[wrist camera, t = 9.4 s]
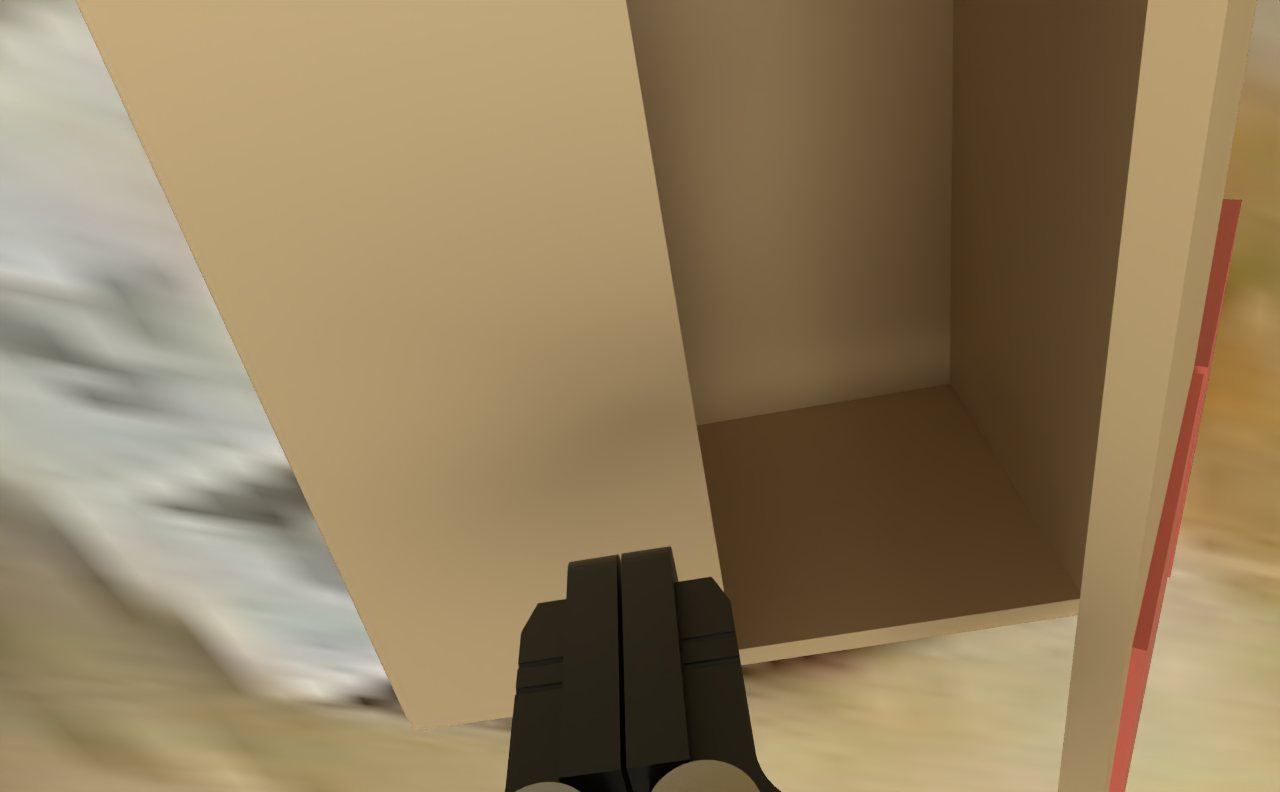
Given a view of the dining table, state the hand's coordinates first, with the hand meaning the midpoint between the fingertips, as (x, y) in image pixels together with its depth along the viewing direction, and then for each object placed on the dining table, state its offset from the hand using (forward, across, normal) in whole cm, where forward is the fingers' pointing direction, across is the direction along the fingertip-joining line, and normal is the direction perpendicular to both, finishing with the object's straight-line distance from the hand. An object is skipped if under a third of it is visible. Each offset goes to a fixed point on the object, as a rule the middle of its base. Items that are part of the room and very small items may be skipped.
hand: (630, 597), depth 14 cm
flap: (+7, -12, 0) cm, 13 cm away
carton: (+19, -2, 0) cm, 19 cm away
